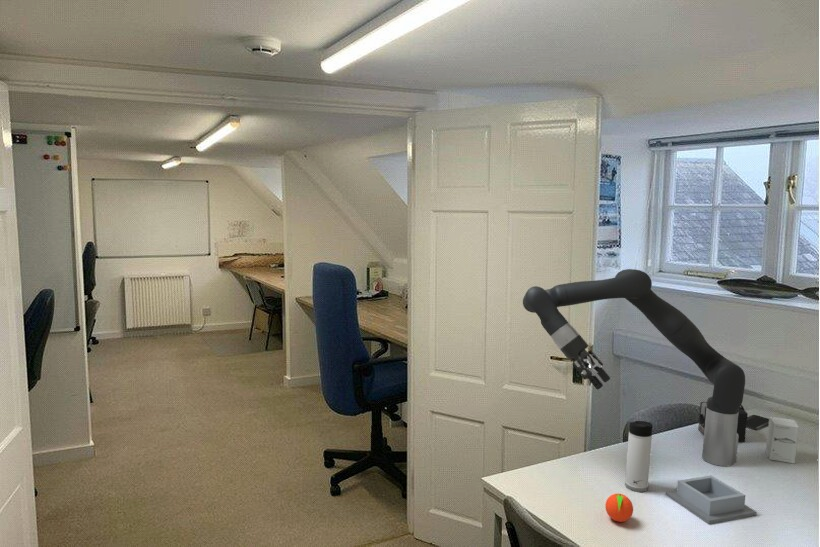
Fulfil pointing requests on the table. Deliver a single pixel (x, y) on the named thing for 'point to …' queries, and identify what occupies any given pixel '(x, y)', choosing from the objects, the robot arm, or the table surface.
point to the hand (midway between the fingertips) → (604, 384)
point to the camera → (740, 426)
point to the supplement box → (782, 439)
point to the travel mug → (638, 456)
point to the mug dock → (710, 499)
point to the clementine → (619, 507)
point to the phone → (757, 422)
